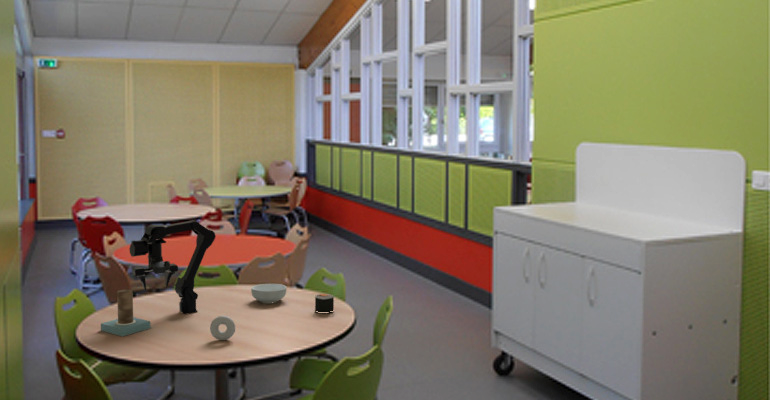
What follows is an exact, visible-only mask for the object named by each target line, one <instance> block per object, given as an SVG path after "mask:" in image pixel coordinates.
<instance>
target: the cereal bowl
mask: <svg viewBox="0 0 770 400" xmlns="http://www.w3.org/2000/svg"><path fill="white" fill-rule="evenodd" d="M250 289H251V291H250V292H251V295H252V297H253V298H254V299H255V300H256V301H259V302H260V303H262V302H263V304H273V303H272V302H275V303H277V302H278V301H280V300H282V299H283V298H285V296H286V294H287V286H286V285H284V284H281V283H262V284H261V283H260V284H256V285H253V286H251V288H250ZM276 301H277V302H276Z"/></svg>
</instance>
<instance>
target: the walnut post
mask: <svg viewBox="0 0 770 400" xmlns="http://www.w3.org/2000/svg"><path fill="white" fill-rule="evenodd" d="M116 295H117V299H116V302H117V319H118V323H120V324H128V323H132V322H133V317H134V300H133V299H134V297H133V295H134V294H133V289H120V290H117V292H116Z"/></svg>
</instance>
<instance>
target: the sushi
mask: <svg viewBox="0 0 770 400" xmlns="http://www.w3.org/2000/svg"><path fill="white" fill-rule="evenodd" d="M314 298H315V300H314V301H315V304H314V305H315V306H314V312H315V311H318V312H330V311H333V310H334V308H335V307H334V306H335V305H334V302H335V301H334V295H333V294H329V293H322V292H321V293H318V294H315V297H314ZM334 311H335V310H334ZM334 311H333V312H334Z"/></svg>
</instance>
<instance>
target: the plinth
mask: <svg viewBox="0 0 770 400" xmlns="http://www.w3.org/2000/svg"><path fill="white" fill-rule="evenodd" d="M151 325H152V324H151V321H150V320H147V319H142V318H138V317H135V316H133V322H132V323H128V324H120V323H118V318H117V319H116V318H115V319H113V320H109V321H105V322H101V323H100V331H101V332H105V333H108V334H112V335H116V336H120V337H125V336H128V335H132V334H135V333H139V332H142V331H145V330H149V329H151V327H152V326H151Z"/></svg>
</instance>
